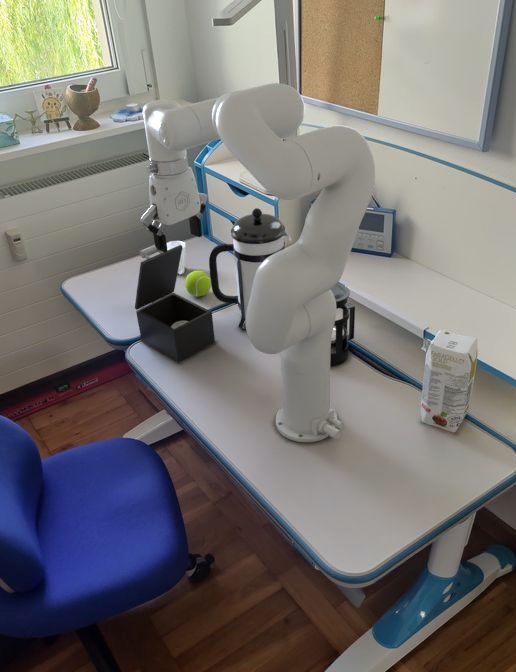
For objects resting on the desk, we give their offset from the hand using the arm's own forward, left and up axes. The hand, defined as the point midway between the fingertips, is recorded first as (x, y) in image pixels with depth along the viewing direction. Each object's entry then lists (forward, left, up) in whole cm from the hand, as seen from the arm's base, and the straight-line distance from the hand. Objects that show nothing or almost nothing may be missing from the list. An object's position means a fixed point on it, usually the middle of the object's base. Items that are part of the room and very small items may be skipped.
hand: (179, 242), depth 143 cm
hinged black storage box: (+6, 0, -28) cm, 29 cm away
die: (+3, 0, -28) cm, 28 cm away
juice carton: (-58, -17, -28) cm, 67 cm away
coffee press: (-2, -20, -28) cm, 35 cm away
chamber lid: (+10, 0, -12) cm, 16 cm away
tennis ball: (+20, -19, -28) cm, 40 cm away
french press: (-26, -20, -28) cm, 43 cm away
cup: (+35, -24, -28) cm, 51 cm away
